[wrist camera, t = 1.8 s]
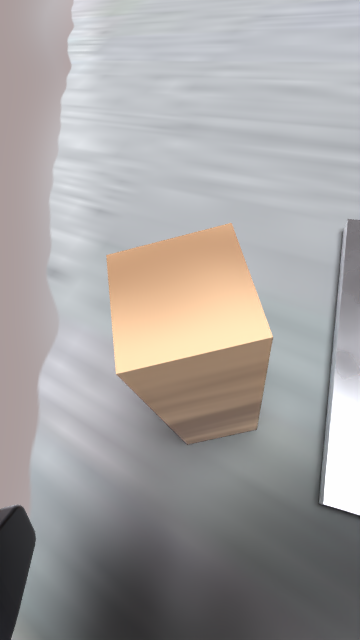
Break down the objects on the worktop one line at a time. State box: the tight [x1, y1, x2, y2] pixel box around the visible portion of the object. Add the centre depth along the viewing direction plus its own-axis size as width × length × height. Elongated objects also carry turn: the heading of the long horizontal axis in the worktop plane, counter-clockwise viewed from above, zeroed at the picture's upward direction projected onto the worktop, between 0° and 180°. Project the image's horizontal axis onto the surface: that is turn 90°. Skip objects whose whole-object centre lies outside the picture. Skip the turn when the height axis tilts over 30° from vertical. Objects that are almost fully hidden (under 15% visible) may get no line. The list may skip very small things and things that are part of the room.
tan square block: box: [106, 223, 273, 445], centre depth 14 cm, size 4×4×12 cm
